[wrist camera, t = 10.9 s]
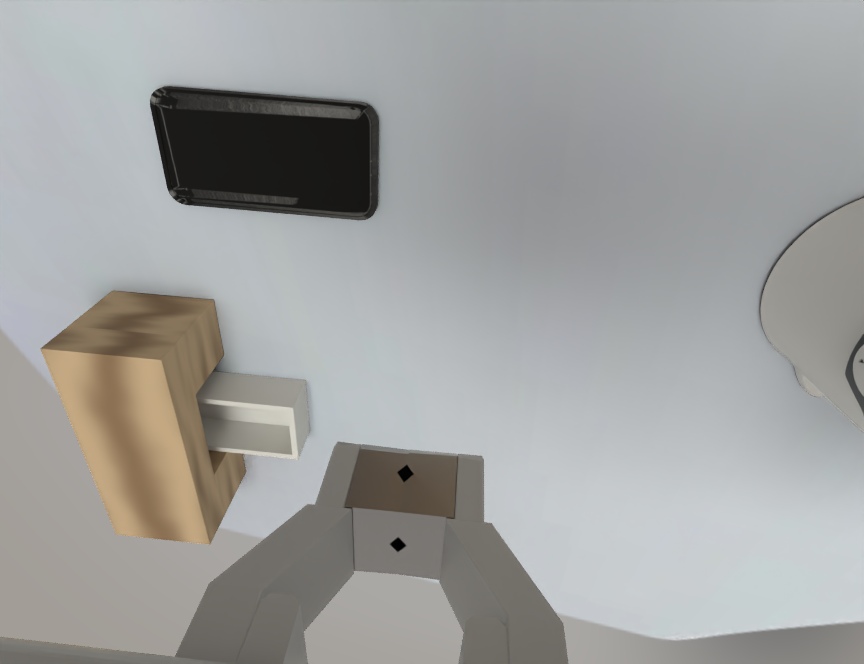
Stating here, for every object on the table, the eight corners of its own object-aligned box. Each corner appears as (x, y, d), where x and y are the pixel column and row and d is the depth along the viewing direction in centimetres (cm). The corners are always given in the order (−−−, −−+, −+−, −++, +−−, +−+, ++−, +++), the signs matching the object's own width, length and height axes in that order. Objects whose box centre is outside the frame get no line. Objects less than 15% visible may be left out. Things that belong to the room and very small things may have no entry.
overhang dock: (213, 299, 44) (161, 360, 37) (245, 471, 55) (209, 544, 47) (112, 290, 44) (40, 348, 37) (164, 463, 55) (116, 534, 48)
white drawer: (306, 378, 48) (293, 407, 44) (310, 428, 51) (298, 459, 48) (152, 363, 48) (128, 391, 45) (166, 413, 52) (144, 443, 48)
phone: (146, 86, 35) (376, 105, 34) (155, 84, 36) (379, 102, 35) (170, 204, 39) (376, 223, 38) (178, 199, 40) (378, 217, 39)
